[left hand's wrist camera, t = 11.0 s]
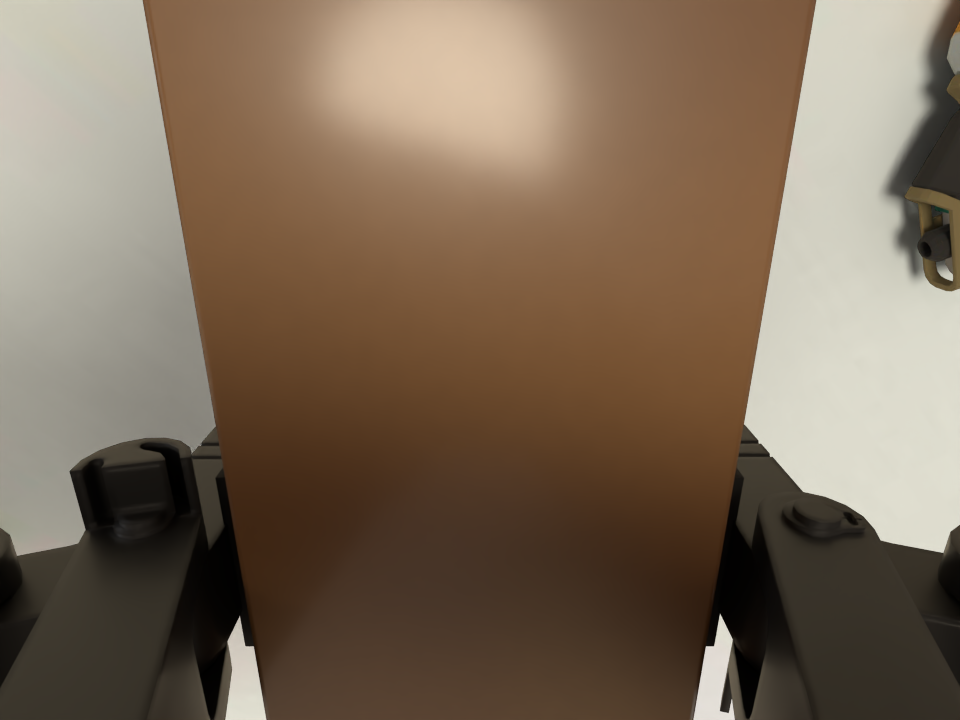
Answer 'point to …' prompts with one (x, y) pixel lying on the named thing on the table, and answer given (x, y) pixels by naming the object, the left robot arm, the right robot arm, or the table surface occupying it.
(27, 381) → the table surface
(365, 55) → the beam
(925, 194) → the spray gun
